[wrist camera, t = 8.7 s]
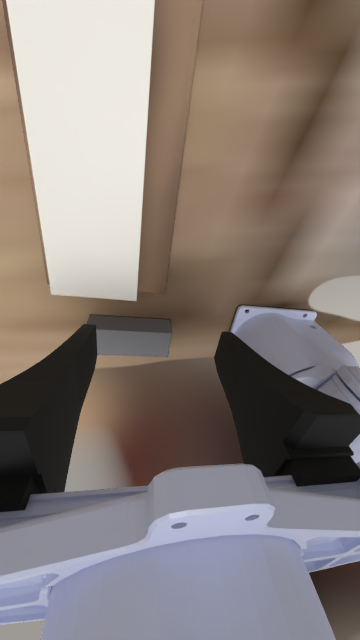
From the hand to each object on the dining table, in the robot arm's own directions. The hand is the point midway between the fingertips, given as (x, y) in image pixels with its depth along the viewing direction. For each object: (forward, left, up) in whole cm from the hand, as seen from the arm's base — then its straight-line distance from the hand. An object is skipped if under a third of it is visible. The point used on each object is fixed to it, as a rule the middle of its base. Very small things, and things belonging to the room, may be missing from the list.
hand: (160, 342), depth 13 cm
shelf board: (+4, -8, -5) cm, 10 cm away
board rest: (+2, +6, -10) cm, 12 cm away
